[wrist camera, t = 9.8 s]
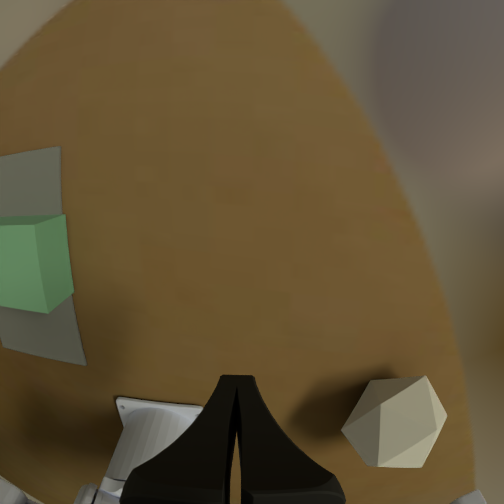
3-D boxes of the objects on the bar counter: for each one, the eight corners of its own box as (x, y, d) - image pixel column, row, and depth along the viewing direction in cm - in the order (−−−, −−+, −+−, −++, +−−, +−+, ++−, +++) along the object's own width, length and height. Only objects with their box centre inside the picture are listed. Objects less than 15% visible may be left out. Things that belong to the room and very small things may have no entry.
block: (48, 313, 18) (-29, 300, 17) (74, 291, 21) (-2, 283, 21) (34, 224, 16) (-42, 227, 16) (65, 214, 20) (-11, 217, 20)
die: (317, 414, 26) (361, 497, 20) (350, 378, 20) (413, 488, 14) (383, 380, 29) (426, 453, 23) (425, 338, 23) (482, 426, 16)
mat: (87, 364, 23) (86, 365, 23) (4, 346, 23) (3, 347, 23) (60, 146, 19) (59, 146, 19) (-26, 162, 18) (-27, 162, 18)
